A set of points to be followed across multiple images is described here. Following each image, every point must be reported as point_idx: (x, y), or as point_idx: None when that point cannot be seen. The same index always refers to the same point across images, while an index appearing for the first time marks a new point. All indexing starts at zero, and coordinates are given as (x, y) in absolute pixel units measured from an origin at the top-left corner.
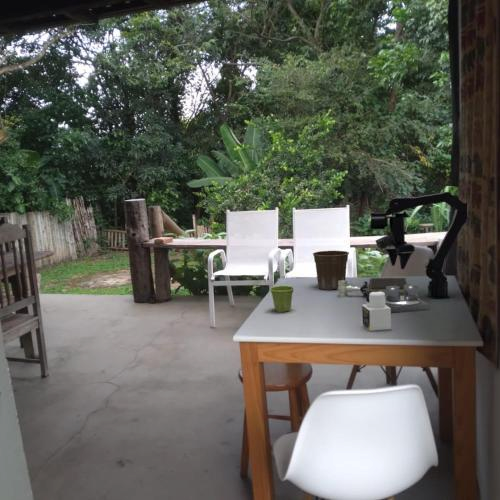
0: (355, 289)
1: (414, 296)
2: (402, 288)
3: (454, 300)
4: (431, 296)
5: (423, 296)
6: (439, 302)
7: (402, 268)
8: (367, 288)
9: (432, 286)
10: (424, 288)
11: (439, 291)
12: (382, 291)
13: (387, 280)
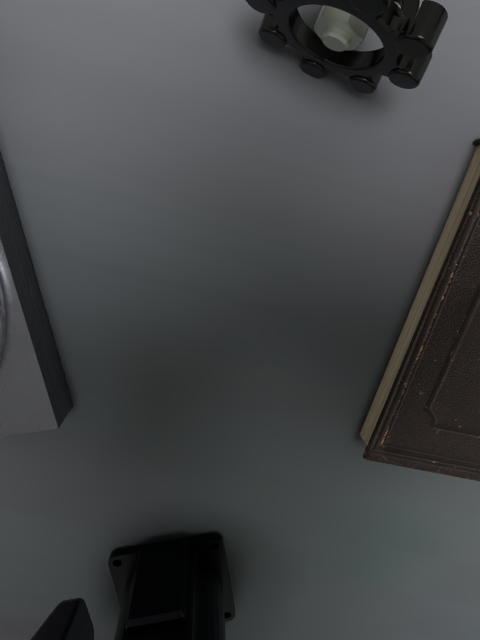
0: None
1: None
2: (379, 428)
3: None
4: (152, 547)
5: (201, 505)
6: (6, 551)
7: (55, 625)
8: (388, 72)
9: (126, 629)
10: (427, 559)
11: (117, 624)
12: None
13: None
